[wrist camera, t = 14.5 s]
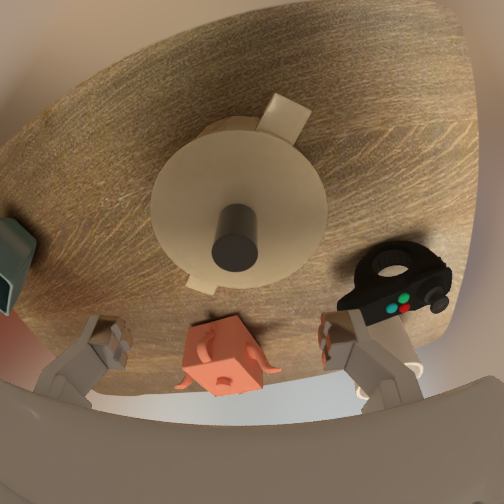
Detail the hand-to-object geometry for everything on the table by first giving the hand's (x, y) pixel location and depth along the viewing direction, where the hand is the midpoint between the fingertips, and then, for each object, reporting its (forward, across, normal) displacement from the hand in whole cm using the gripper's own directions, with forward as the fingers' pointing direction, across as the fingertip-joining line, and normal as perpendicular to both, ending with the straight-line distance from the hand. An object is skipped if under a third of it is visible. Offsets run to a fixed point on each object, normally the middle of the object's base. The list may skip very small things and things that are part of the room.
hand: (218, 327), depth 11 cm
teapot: (+17, +3, +23) cm, 29 cm away
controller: (+17, -15, +10) cm, 25 cm away
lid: (+9, 0, 0) cm, 9 cm away
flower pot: (+18, +30, +5) cm, 35 cm away
